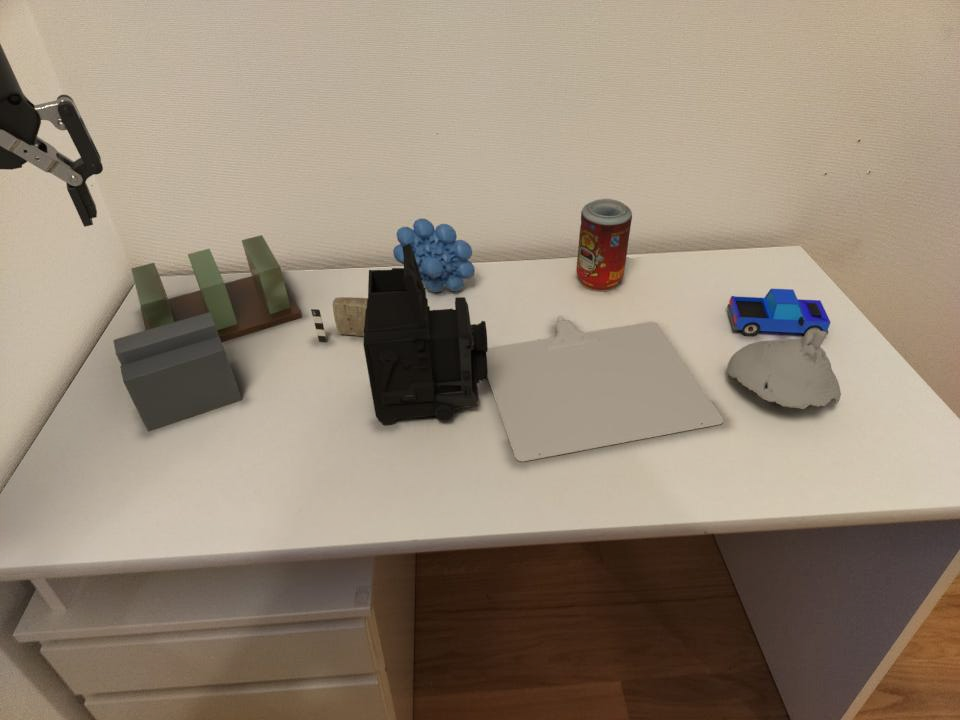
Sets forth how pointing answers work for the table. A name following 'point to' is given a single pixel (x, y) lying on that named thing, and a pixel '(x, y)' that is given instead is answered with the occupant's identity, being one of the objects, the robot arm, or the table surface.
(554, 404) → the grey rectangular panel
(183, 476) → the table surface
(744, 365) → the grey clay mound
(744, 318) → the toy car
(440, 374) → the camera
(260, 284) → the book rack
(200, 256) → the green book
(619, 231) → the soda can
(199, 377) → the grey grooved block
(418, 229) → the grapes
